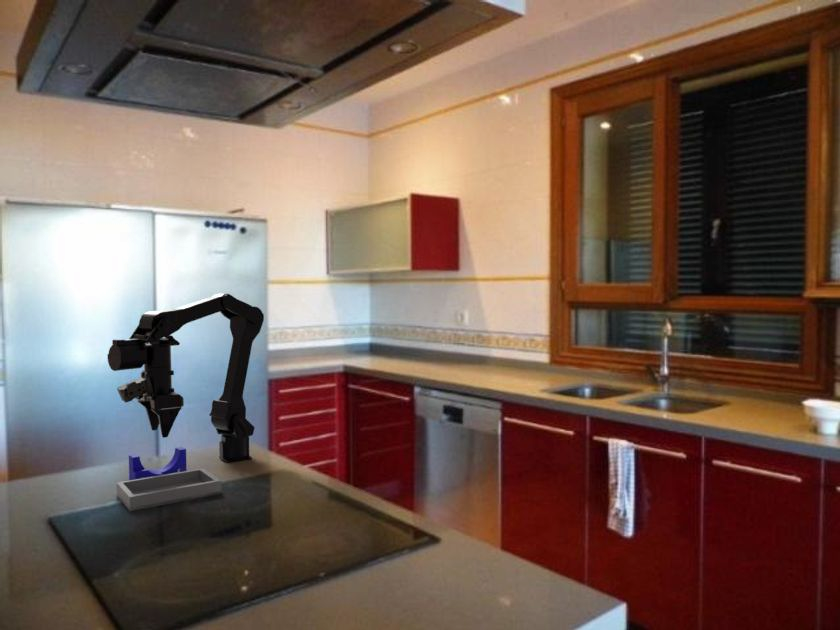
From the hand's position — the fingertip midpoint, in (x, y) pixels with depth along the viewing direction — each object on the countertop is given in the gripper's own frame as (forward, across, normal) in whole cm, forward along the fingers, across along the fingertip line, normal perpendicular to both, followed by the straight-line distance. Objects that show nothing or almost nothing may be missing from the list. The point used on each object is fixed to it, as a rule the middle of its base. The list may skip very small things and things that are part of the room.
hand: (159, 433), depth 149 cm
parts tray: (+10, +15, -2) cm, 18 cm away
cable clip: (+11, 0, 0) cm, 11 cm away
